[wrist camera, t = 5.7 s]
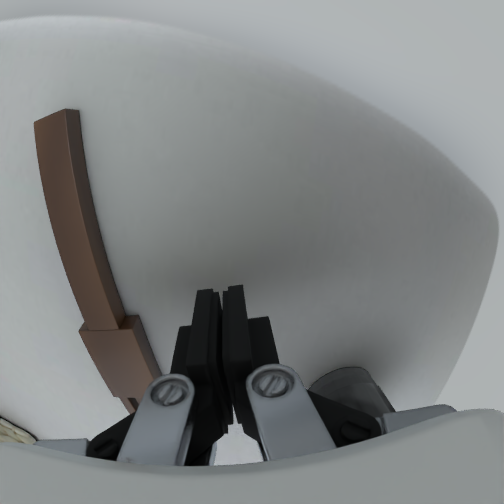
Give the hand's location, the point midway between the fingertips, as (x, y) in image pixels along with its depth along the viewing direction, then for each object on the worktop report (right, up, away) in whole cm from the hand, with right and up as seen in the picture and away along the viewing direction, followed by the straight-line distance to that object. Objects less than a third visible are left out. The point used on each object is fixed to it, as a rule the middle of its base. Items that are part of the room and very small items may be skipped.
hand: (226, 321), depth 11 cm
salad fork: (-6, +1, +2) cm, 7 cm away
